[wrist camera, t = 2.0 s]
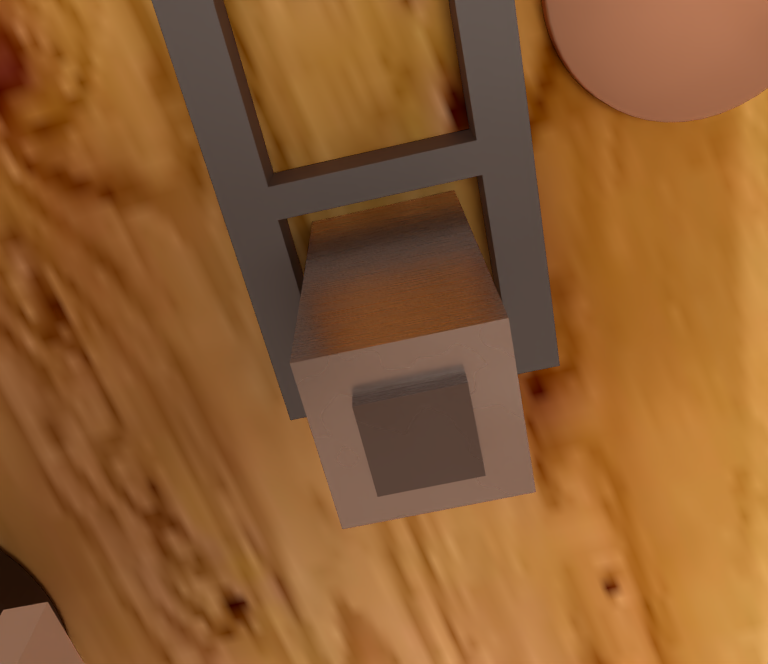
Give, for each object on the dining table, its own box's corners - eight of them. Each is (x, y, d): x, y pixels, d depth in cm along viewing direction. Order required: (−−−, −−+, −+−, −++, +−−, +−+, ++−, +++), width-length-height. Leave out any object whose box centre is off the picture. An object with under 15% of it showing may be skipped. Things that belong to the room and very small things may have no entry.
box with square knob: (346, 345, 25) (341, 541, 17) (312, 221, 23) (288, 373, 15) (477, 318, 25) (539, 503, 16) (454, 190, 23) (512, 326, 14)
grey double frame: (294, 396, 26) (290, 420, 24) (145, -64, 19) (130, -65, 18) (548, 343, 25) (559, 365, 24) (485, -149, 19) (495, -157, 17)
